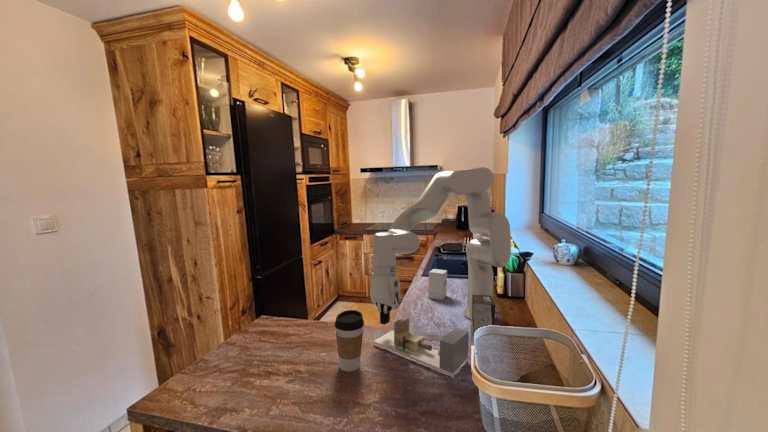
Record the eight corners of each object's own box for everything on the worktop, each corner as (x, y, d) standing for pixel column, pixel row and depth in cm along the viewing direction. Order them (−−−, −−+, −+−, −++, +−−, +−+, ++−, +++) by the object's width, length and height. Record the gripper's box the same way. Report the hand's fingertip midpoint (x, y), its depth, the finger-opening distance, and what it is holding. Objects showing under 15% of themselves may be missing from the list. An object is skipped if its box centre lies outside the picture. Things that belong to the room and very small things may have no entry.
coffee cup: (368, 360, 90) (368, 311, 89) (357, 376, 82) (356, 323, 81) (343, 355, 93) (342, 308, 92) (329, 370, 85) (328, 319, 84)
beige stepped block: (391, 346, 95) (391, 324, 94) (404, 337, 101) (405, 316, 100) (423, 359, 88) (423, 335, 87) (435, 349, 94) (436, 326, 93)
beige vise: (373, 345, 99) (373, 317, 98) (392, 334, 107) (392, 308, 106) (452, 378, 82) (453, 344, 81) (467, 362, 89) (468, 331, 89)
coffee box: (494, 356, 93) (496, 304, 92) (472, 353, 94) (473, 303, 93) (490, 341, 102) (491, 294, 101) (470, 339, 103) (471, 293, 102)
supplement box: (443, 300, 140) (443, 273, 139) (427, 298, 143) (428, 271, 142) (447, 295, 147) (447, 270, 146) (432, 293, 150) (432, 268, 149)
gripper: (409, 270, 99) (409, 324, 101) (374, 264, 108) (375, 313, 110) (395, 276, 93) (396, 333, 95) (360, 268, 103) (361, 320, 104)
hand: (384, 322), depth 102 cm, fingers closed
